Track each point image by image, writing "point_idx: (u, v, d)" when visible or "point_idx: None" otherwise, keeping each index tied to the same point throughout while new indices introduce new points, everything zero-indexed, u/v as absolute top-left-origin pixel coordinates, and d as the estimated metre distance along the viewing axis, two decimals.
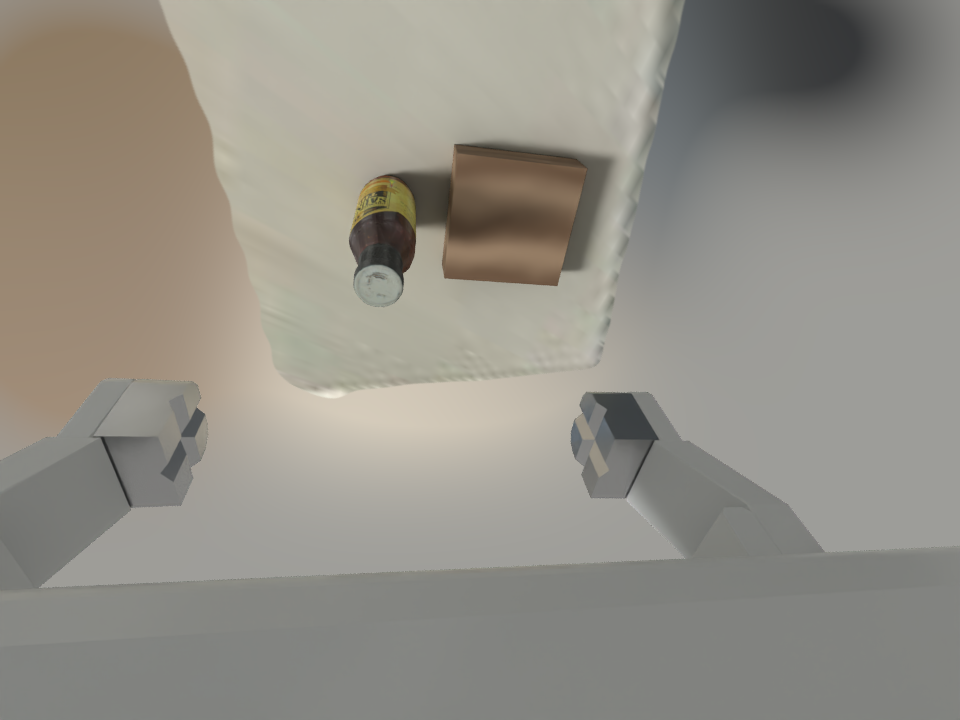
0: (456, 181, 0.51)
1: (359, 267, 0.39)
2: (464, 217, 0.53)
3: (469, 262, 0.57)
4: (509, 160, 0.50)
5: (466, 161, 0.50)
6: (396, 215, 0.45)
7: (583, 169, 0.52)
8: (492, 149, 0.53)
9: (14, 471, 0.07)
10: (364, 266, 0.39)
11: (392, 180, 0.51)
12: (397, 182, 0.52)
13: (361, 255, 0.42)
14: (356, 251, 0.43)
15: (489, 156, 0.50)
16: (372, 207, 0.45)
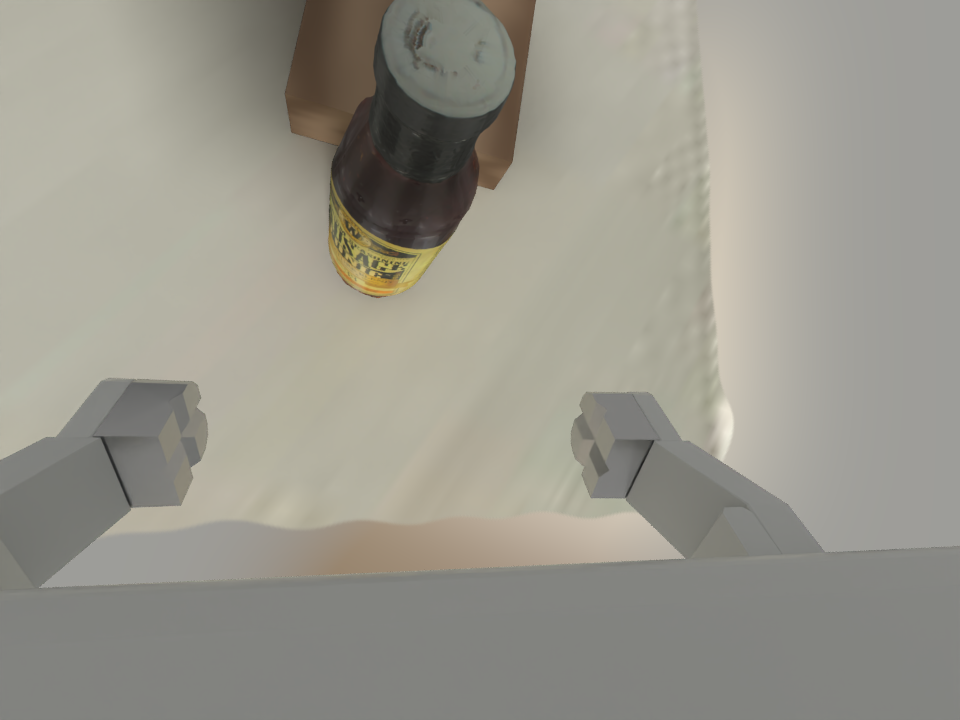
0: (335, 106, 0.29)
1: (394, 98, 0.14)
2: None
3: None
4: (305, 12, 0.29)
5: (300, 82, 0.28)
6: None
7: None
8: None
9: (14, 471, 0.07)
10: (385, 70, 0.13)
11: None
12: None
13: (392, 155, 0.16)
14: (397, 196, 0.18)
15: None
16: (331, 198, 0.22)
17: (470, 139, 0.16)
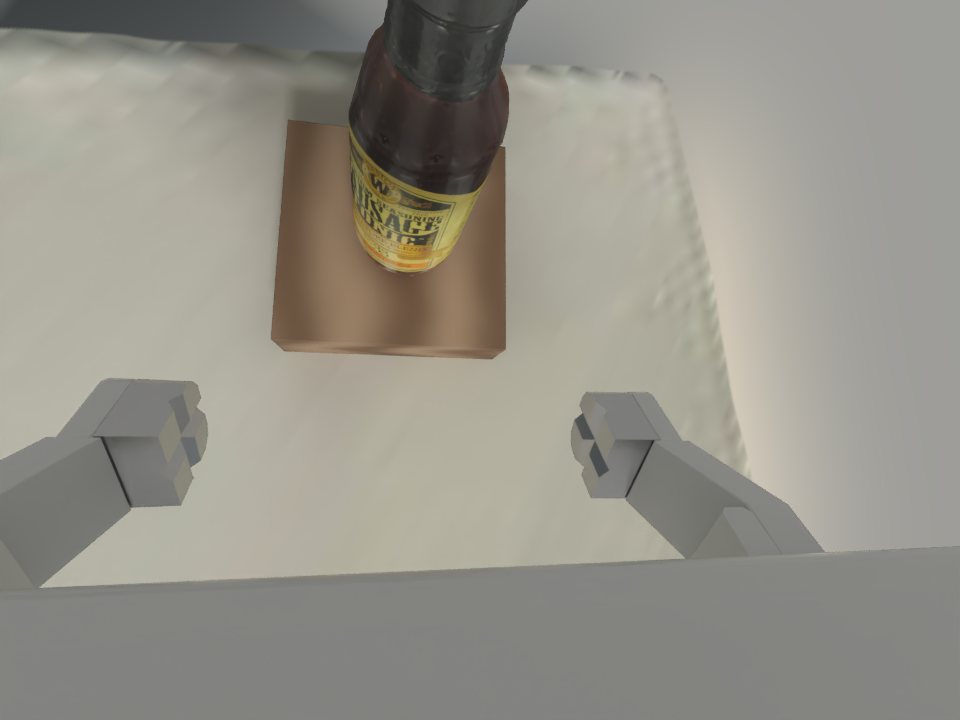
0: (321, 338, 0.29)
1: None
2: (385, 319, 0.30)
3: (471, 305, 0.31)
4: (279, 250, 0.29)
5: (284, 323, 0.28)
6: None
7: (289, 126, 0.30)
8: None
9: (14, 471, 0.07)
10: None
11: None
12: None
13: (415, 70, 0.15)
14: (424, 126, 0.16)
15: None
16: (352, 155, 0.20)
17: (502, 29, 0.13)
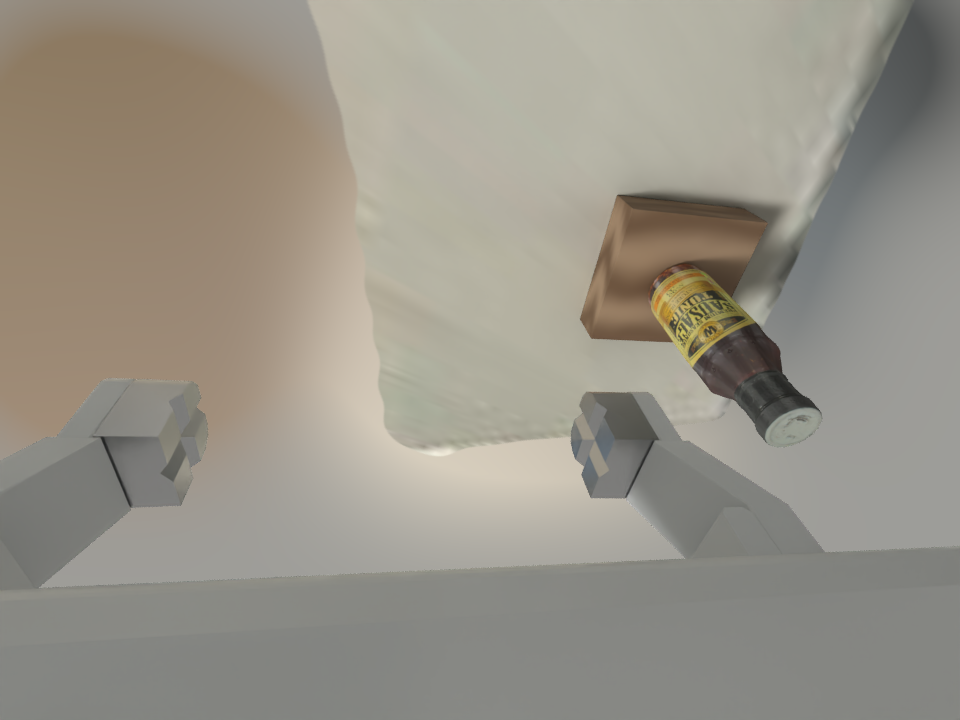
0: (625, 238, 0.45)
1: (778, 407, 0.33)
2: (626, 275, 0.48)
3: (621, 321, 0.51)
4: (686, 215, 0.45)
5: (640, 217, 0.44)
6: (759, 328, 0.39)
7: (763, 223, 0.46)
8: (657, 200, 0.48)
9: (14, 471, 0.07)
10: (790, 408, 0.33)
11: (702, 272, 0.46)
12: (707, 274, 0.46)
13: (751, 384, 0.36)
14: (729, 374, 0.37)
15: (664, 211, 0.45)
16: (728, 317, 0.40)
17: (754, 422, 0.36)
